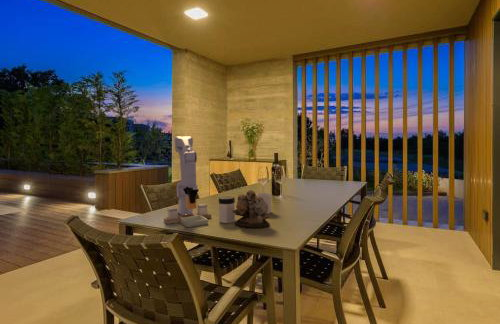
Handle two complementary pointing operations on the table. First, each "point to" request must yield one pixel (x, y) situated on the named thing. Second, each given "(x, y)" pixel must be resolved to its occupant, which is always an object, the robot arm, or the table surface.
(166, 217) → the rack
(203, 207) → the block
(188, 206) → the block
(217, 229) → the table surface
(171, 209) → the white fuse
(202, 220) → the tray
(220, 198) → the jar
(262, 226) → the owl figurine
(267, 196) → the mug
